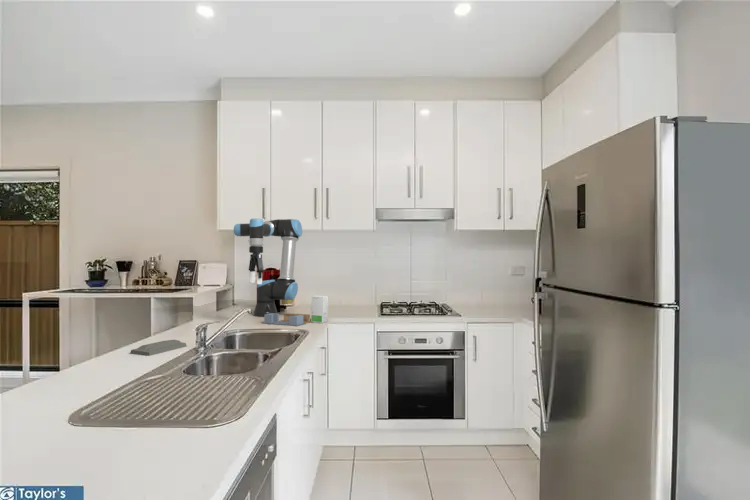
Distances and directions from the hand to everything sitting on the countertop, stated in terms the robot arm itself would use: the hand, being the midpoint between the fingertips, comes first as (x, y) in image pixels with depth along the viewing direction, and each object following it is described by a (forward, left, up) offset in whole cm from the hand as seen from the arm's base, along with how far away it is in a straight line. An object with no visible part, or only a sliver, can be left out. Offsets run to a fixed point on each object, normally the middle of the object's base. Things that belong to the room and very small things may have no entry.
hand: (255, 283), depth 253 cm
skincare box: (-26, +27, -24) cm, 44 cm away
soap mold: (+73, +10, -24) cm, 78 cm away
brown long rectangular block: (-20, +15, -24) cm, 34 cm away
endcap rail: (-11, +12, -23) cm, 28 cm away
